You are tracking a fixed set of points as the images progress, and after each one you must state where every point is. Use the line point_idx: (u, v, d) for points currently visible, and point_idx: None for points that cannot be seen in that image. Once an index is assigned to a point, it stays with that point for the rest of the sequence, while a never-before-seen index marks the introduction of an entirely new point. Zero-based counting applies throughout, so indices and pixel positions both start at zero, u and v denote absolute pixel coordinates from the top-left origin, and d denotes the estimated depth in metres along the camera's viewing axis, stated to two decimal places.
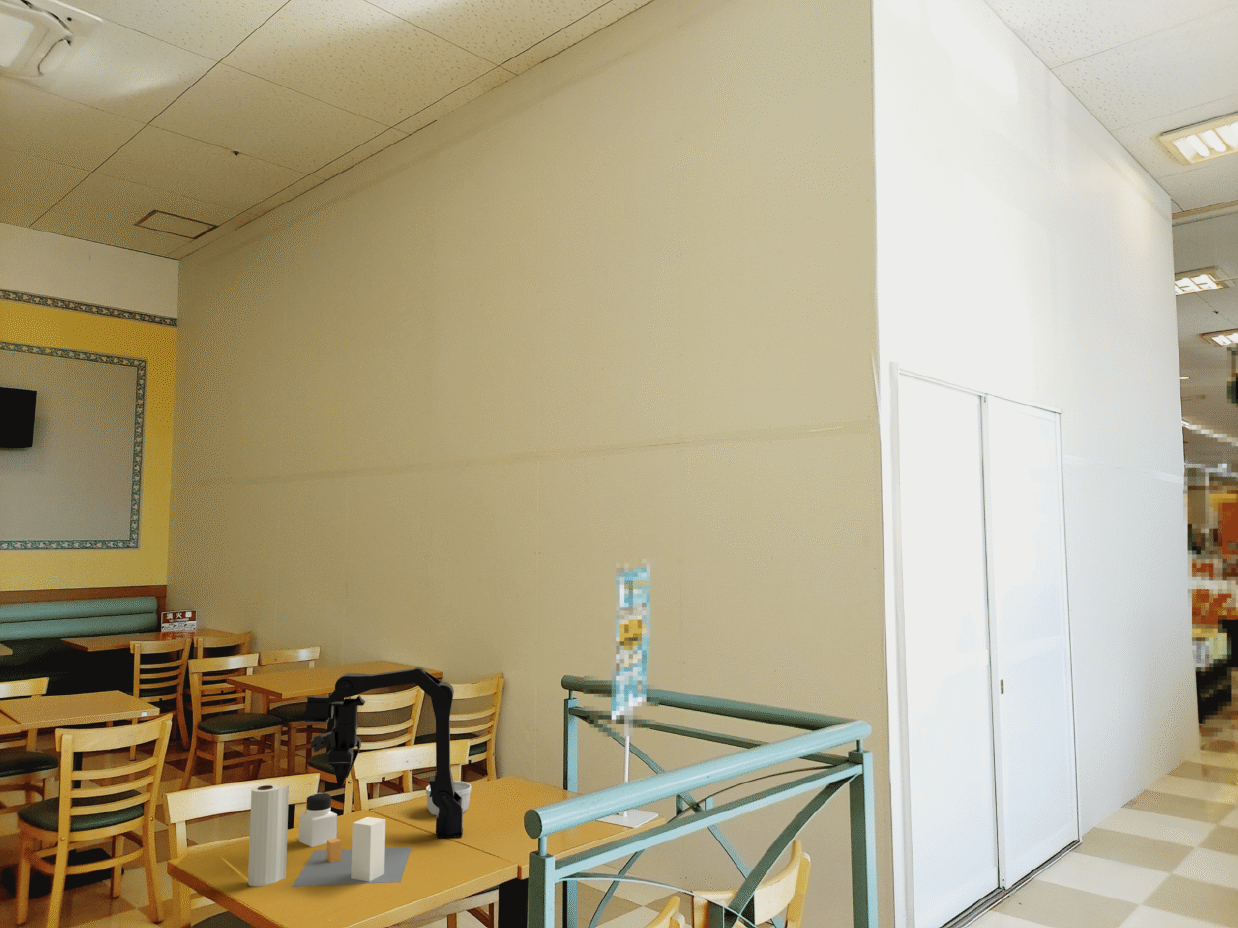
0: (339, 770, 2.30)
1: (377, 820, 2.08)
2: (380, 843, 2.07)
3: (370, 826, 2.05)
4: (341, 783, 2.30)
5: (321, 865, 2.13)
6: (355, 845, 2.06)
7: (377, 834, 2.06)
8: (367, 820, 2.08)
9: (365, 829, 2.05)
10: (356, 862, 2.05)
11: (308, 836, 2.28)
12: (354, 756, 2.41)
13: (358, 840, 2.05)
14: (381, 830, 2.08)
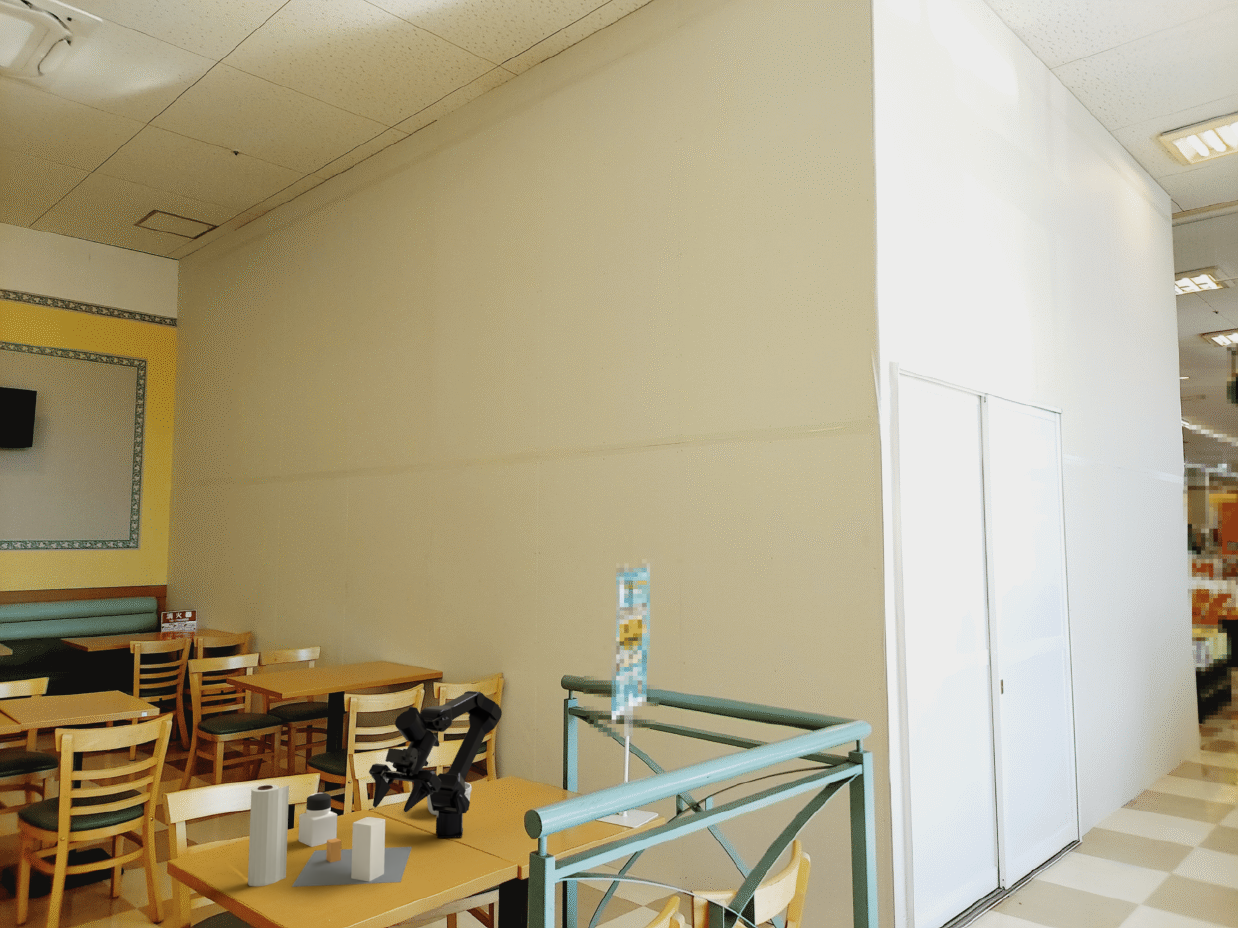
0: (416, 794, 2.16)
1: (377, 820, 2.08)
2: (380, 843, 2.07)
3: (370, 826, 2.05)
4: (409, 808, 2.14)
5: (321, 865, 2.13)
6: (355, 845, 2.06)
7: (377, 834, 2.06)
8: (367, 820, 2.08)
9: (365, 829, 2.05)
10: (356, 862, 2.05)
11: (308, 836, 2.28)
12: (387, 790, 2.23)
13: (358, 840, 2.05)
14: (381, 830, 2.08)
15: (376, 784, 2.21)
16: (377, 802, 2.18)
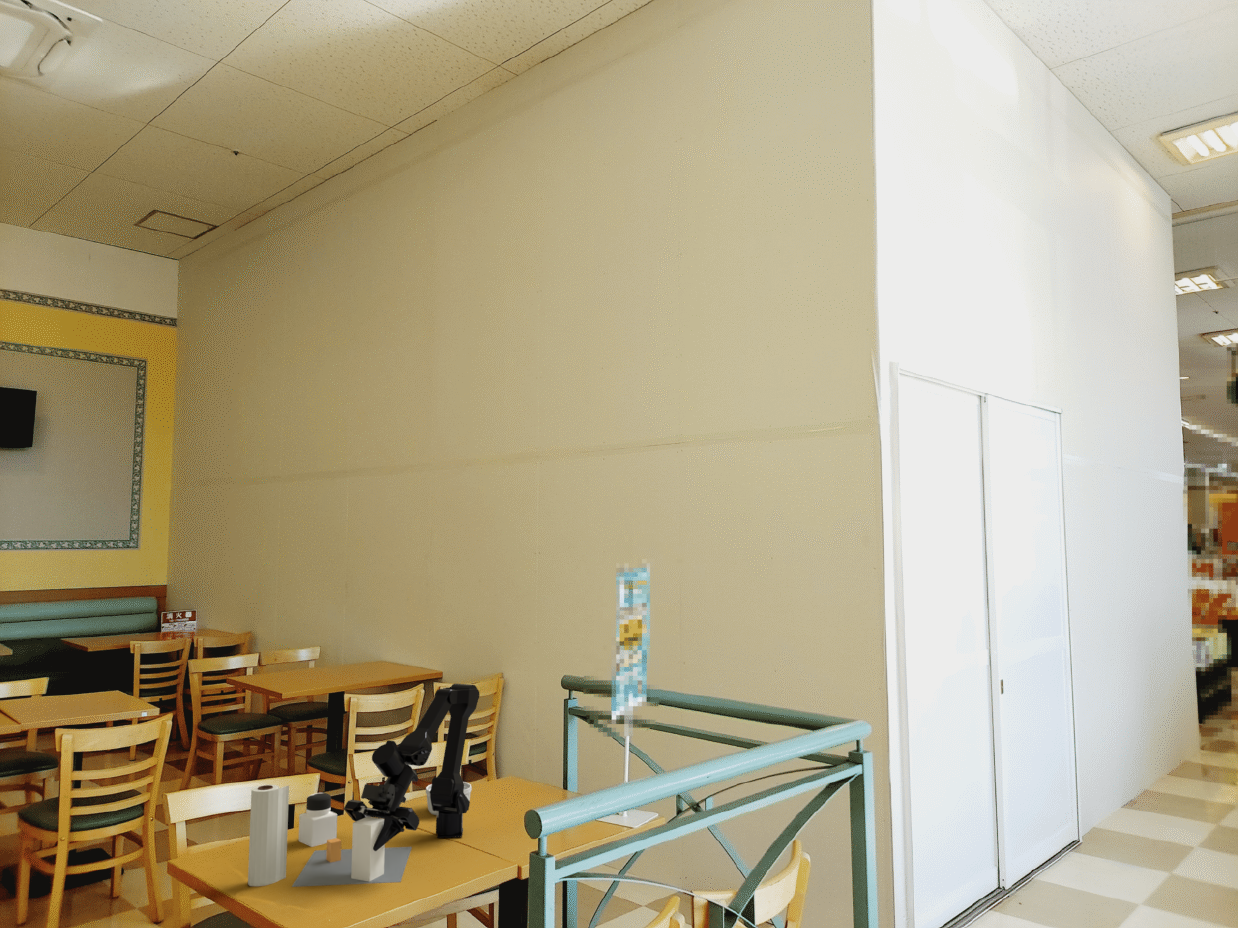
0: (387, 832, 2.08)
1: (377, 820, 2.08)
2: None
3: (370, 826, 2.05)
4: (378, 847, 2.06)
5: (321, 865, 2.13)
6: (355, 845, 2.06)
7: (377, 834, 2.06)
8: (367, 820, 2.08)
9: (365, 829, 2.05)
10: (356, 862, 2.05)
11: (308, 836, 2.28)
12: None
13: (358, 840, 2.05)
14: None
15: None
16: None
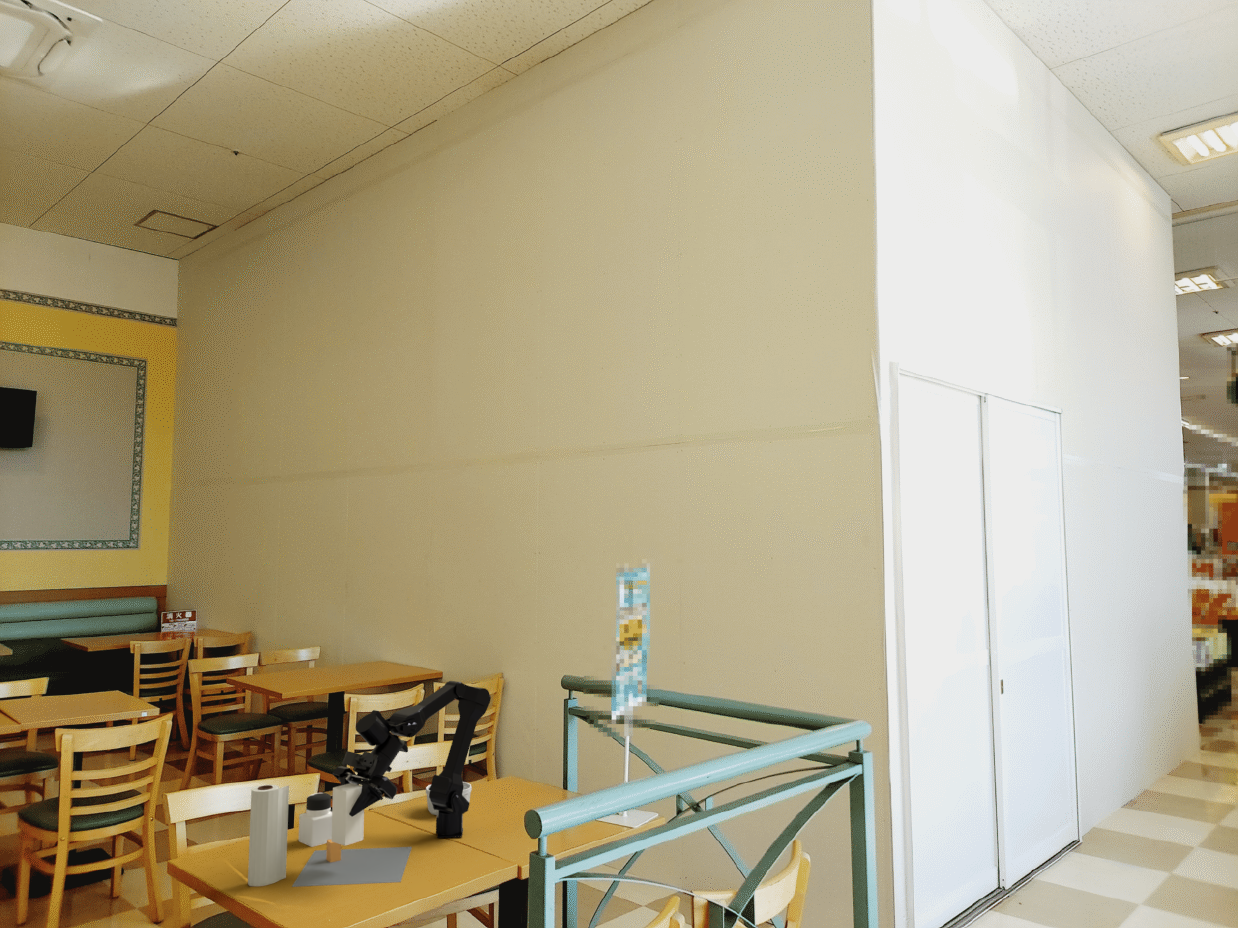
0: (364, 798, 2.12)
1: (356, 786, 2.13)
2: None
3: (346, 792, 2.10)
4: (355, 812, 2.10)
5: (321, 865, 2.13)
6: (334, 809, 2.12)
7: (354, 800, 2.11)
8: (346, 786, 2.13)
9: (342, 794, 2.10)
10: (335, 826, 2.11)
11: (308, 836, 2.28)
12: None
13: (336, 805, 2.11)
14: None
15: None
16: None
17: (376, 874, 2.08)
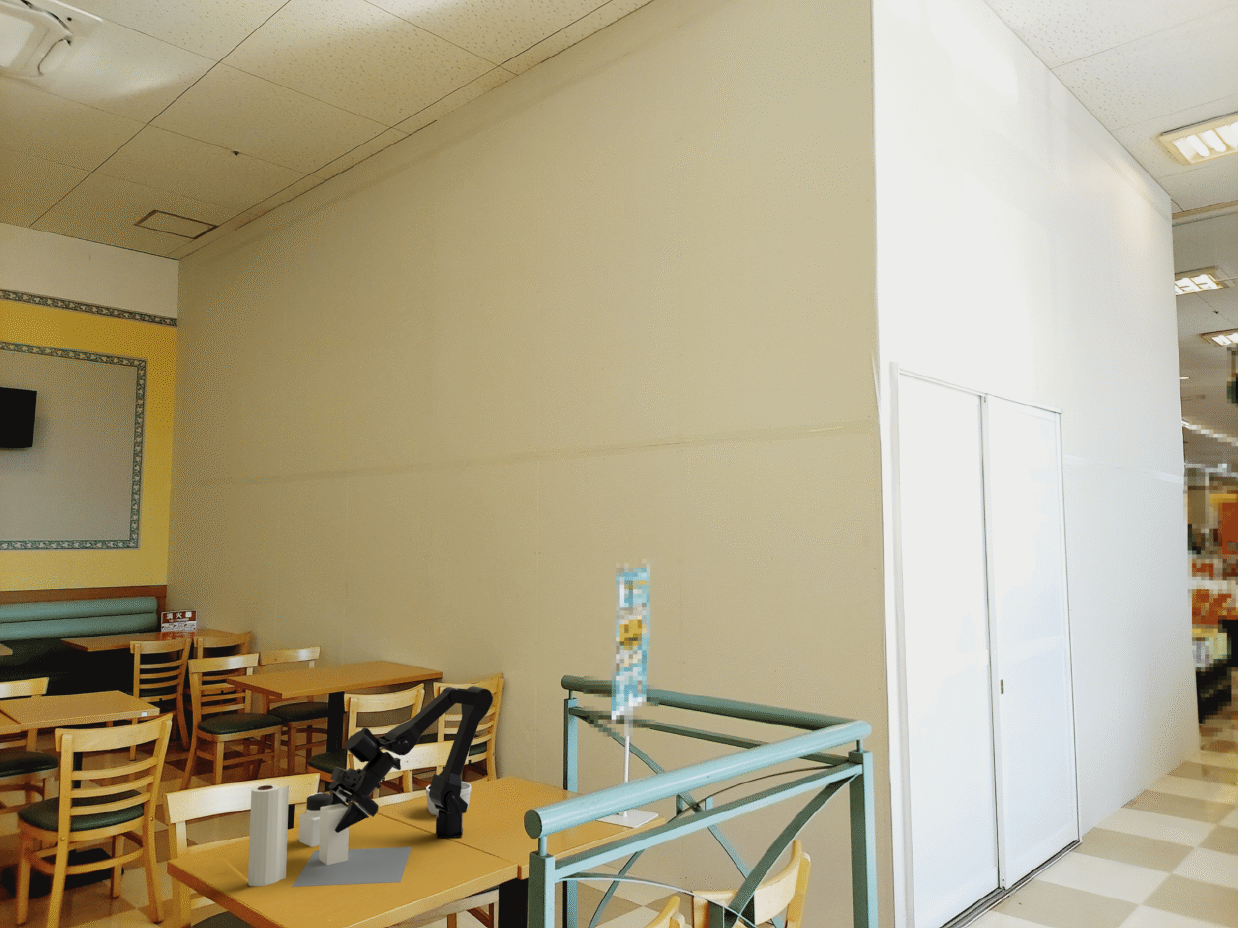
0: (350, 816, 2.15)
1: (341, 807, 2.18)
2: (342, 830, 2.17)
3: (328, 812, 2.15)
4: (340, 829, 2.14)
5: (321, 865, 2.13)
6: (321, 829, 2.18)
7: (338, 821, 2.16)
8: (333, 807, 2.19)
9: (326, 815, 2.16)
10: (321, 845, 2.17)
11: (308, 836, 2.28)
12: None
13: (322, 824, 2.17)
14: None
15: (330, 801, 2.23)
16: None
17: (376, 874, 2.08)
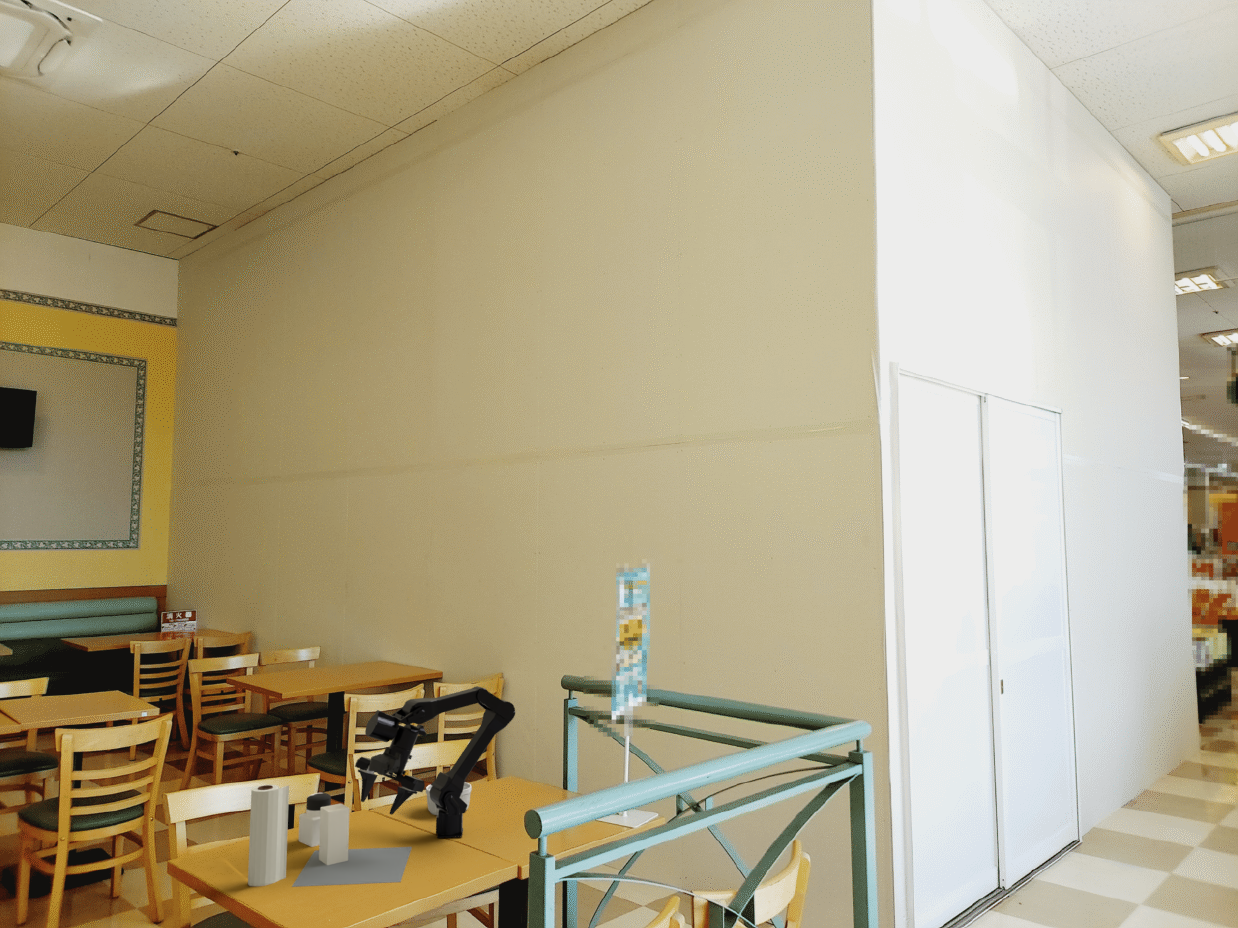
0: (401, 797, 2.26)
1: (341, 807, 2.18)
2: (342, 830, 2.17)
3: (328, 812, 2.15)
4: (394, 810, 2.26)
5: (321, 865, 2.13)
6: (321, 829, 2.18)
7: (338, 821, 2.16)
8: (333, 807, 2.19)
9: (326, 815, 2.16)
10: (321, 845, 2.17)
11: (308, 836, 2.28)
12: (374, 780, 2.33)
13: (322, 824, 2.17)
14: (343, 817, 2.17)
15: (362, 780, 2.30)
16: (365, 797, 2.29)
17: (376, 874, 2.08)
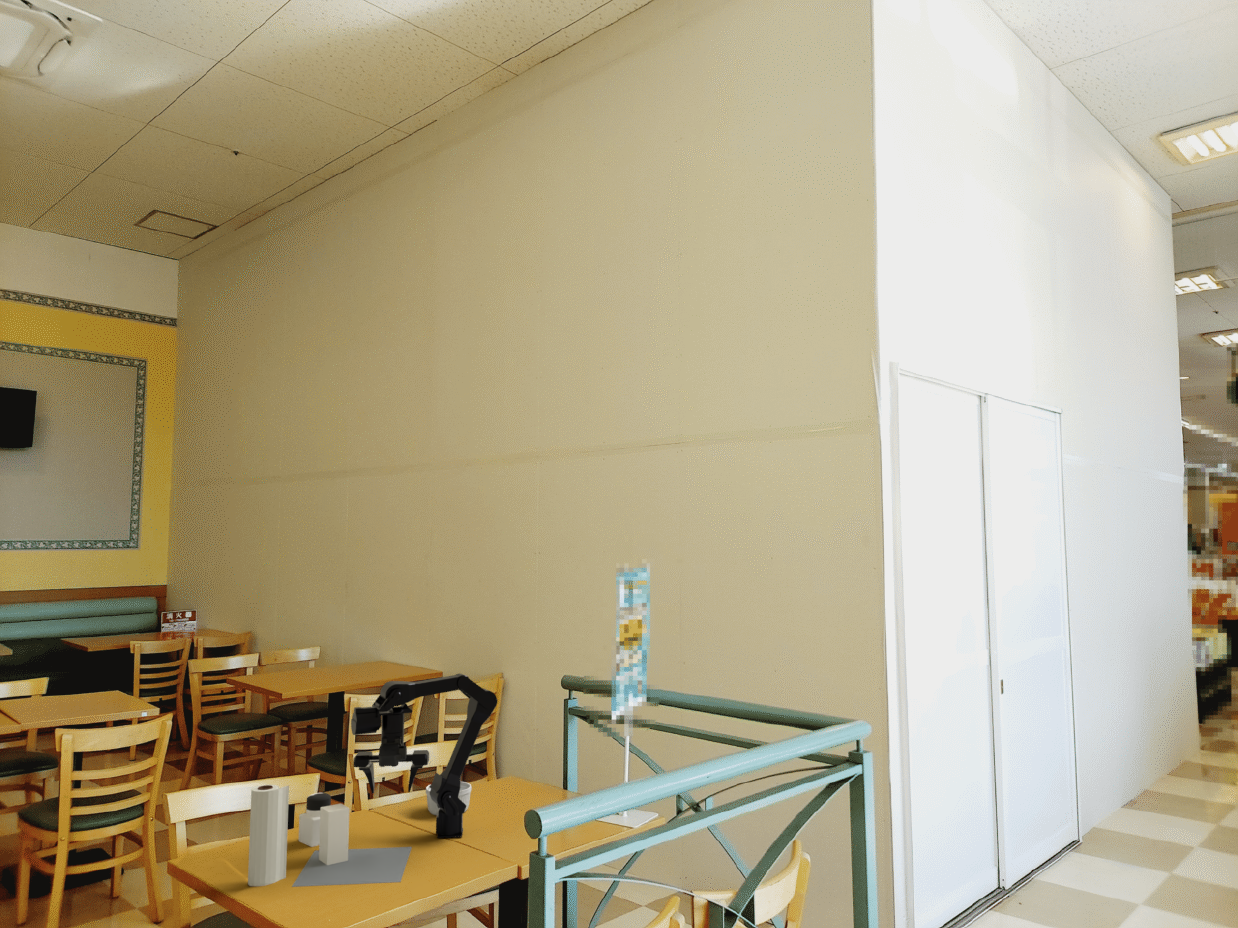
0: None
1: (341, 807, 2.18)
2: (342, 830, 2.17)
3: (328, 812, 2.15)
4: None
5: (321, 865, 2.13)
6: (321, 829, 2.18)
7: (338, 821, 2.16)
8: (333, 807, 2.19)
9: (326, 815, 2.16)
10: (321, 845, 2.17)
11: (308, 836, 2.28)
12: (373, 768, 2.33)
13: (322, 824, 2.17)
14: (343, 817, 2.17)
15: (367, 774, 2.29)
16: None
17: (376, 874, 2.08)
